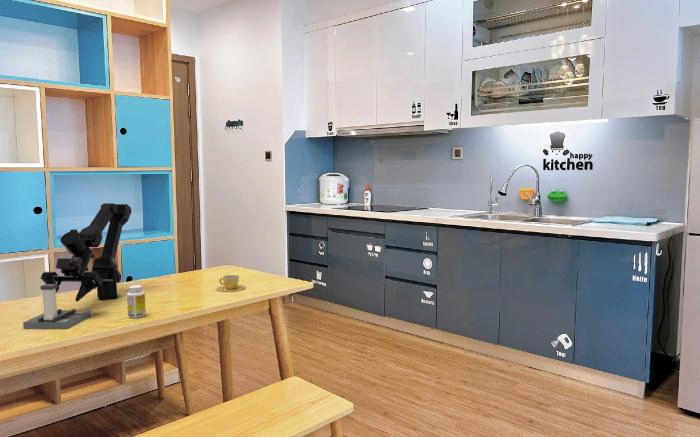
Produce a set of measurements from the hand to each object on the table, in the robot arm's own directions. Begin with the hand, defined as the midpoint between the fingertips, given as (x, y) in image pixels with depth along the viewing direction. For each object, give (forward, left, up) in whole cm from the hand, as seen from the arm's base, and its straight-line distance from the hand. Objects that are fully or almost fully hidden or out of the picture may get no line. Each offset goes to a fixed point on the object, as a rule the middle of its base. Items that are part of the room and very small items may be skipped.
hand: (62, 301), depth 169 cm
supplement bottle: (-22, +6, -6) cm, 24 cm away
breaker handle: (+3, +6, -4) cm, 8 cm away
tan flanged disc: (-59, -22, -7) cm, 63 cm away
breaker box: (+2, +3, -6) cm, 7 cm away
